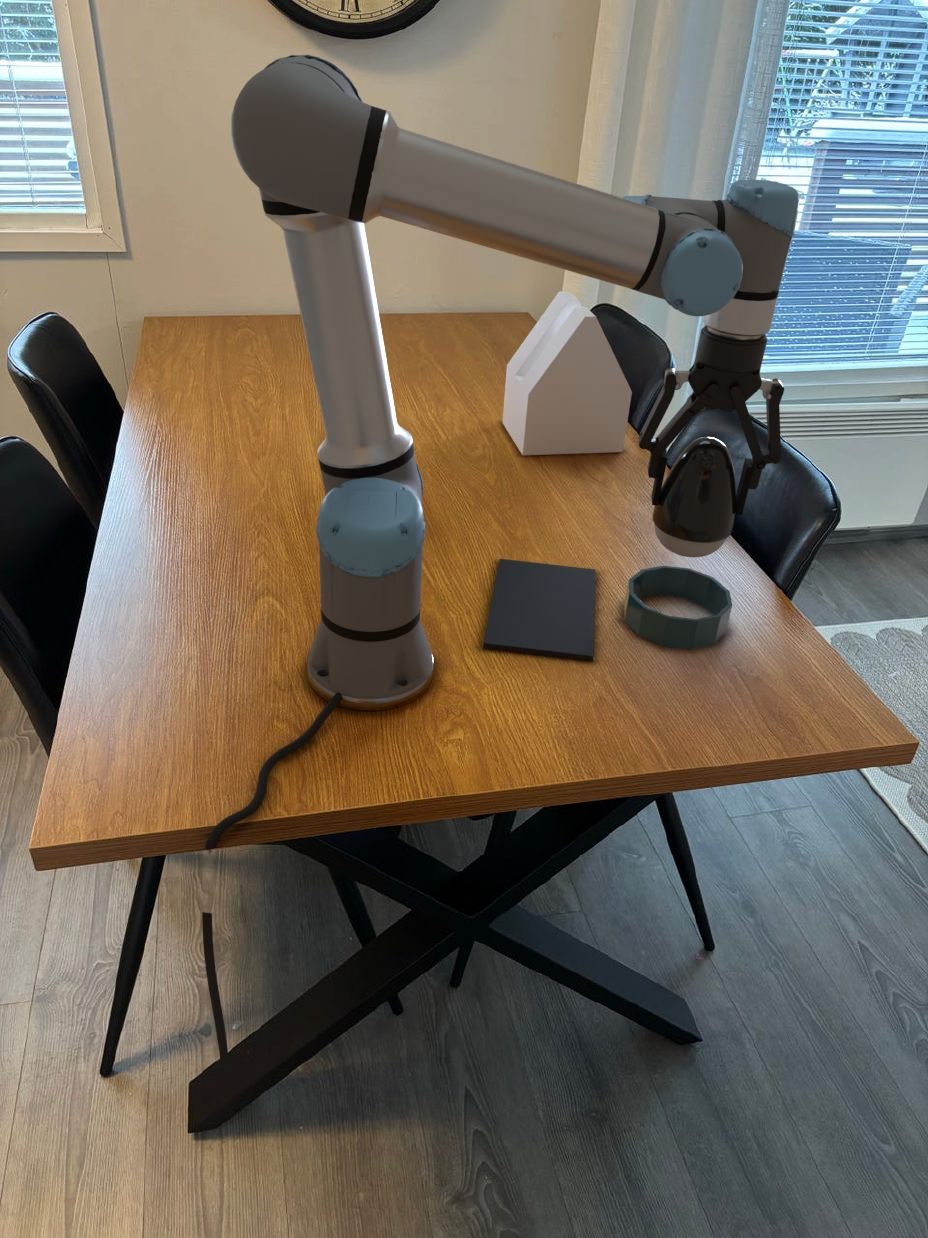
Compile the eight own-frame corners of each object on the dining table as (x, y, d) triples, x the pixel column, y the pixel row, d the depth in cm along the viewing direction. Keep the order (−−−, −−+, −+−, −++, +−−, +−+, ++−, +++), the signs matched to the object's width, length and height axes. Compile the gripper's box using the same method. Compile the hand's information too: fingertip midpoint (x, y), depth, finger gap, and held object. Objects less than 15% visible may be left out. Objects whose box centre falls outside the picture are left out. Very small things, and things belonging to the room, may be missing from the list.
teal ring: (729, 654, 126) (736, 625, 123) (624, 642, 127) (629, 613, 124) (719, 599, 137) (726, 572, 134) (623, 588, 138) (628, 561, 135)
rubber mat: (592, 661, 123) (593, 656, 122) (483, 648, 124) (483, 643, 123) (594, 573, 141) (595, 569, 140) (499, 563, 142) (499, 558, 141)
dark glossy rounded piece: (642, 558, 122) (663, 447, 114) (652, 523, 131) (673, 417, 122) (723, 574, 120) (751, 462, 112) (728, 537, 129) (755, 431, 120)
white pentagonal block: (522, 455, 175) (535, 316, 161) (502, 422, 187) (513, 291, 173) (622, 451, 179) (643, 316, 165) (596, 419, 191) (614, 291, 177)
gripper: (828, 330, 112) (781, 502, 124) (636, 310, 114) (607, 482, 126) (841, 350, 106) (790, 529, 118) (637, 329, 107) (607, 508, 120)
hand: (696, 505), depth 122 cm, fingers closed on dark glossy rounded piece, 10 cm apart
